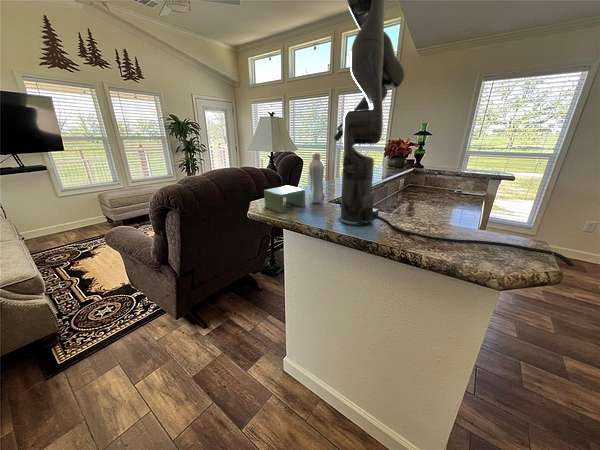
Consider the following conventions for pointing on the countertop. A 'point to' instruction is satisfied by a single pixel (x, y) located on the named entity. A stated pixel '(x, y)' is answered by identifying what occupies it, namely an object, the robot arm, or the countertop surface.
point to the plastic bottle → (316, 179)
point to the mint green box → (276, 196)
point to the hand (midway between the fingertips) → (341, 140)
